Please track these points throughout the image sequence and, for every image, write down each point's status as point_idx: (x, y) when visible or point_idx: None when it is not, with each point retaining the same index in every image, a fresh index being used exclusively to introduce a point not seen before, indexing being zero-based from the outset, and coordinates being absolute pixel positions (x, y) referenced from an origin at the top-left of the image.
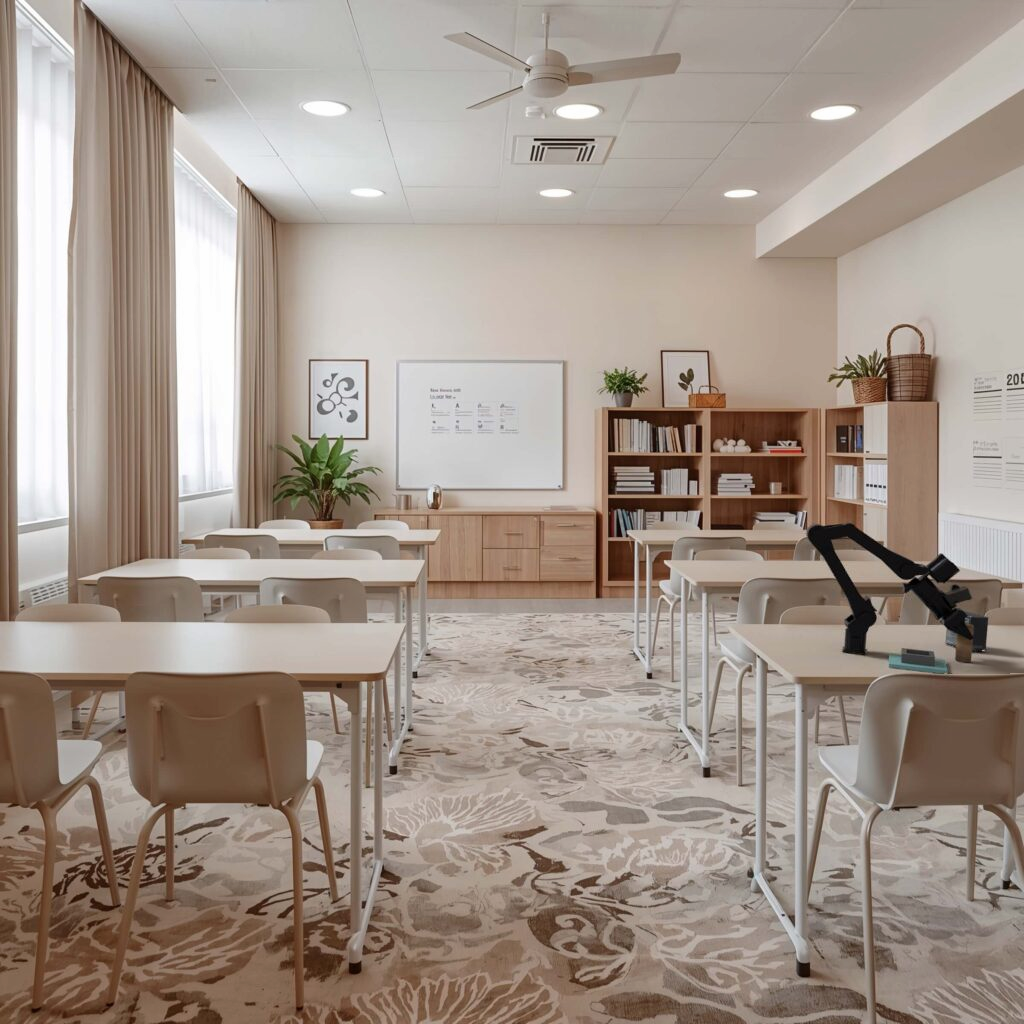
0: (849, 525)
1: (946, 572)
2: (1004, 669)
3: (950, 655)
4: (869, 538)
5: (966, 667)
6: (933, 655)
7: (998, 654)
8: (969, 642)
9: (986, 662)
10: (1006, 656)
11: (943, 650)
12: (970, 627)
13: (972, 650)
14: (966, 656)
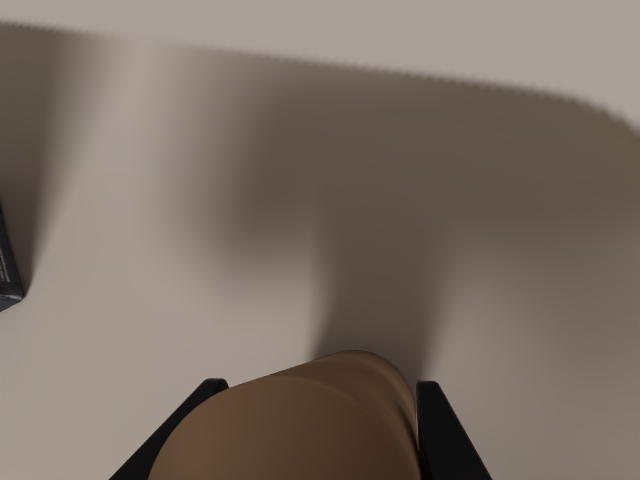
0: None
1: None
2: (526, 154)
3: None
4: None
5: (615, 443)
6: None
7: (35, 114)
8: (406, 411)
9: (324, 236)
10: (78, 77)
11: (14, 467)
12: (408, 465)
13: (7, 263)
14: (414, 408)
